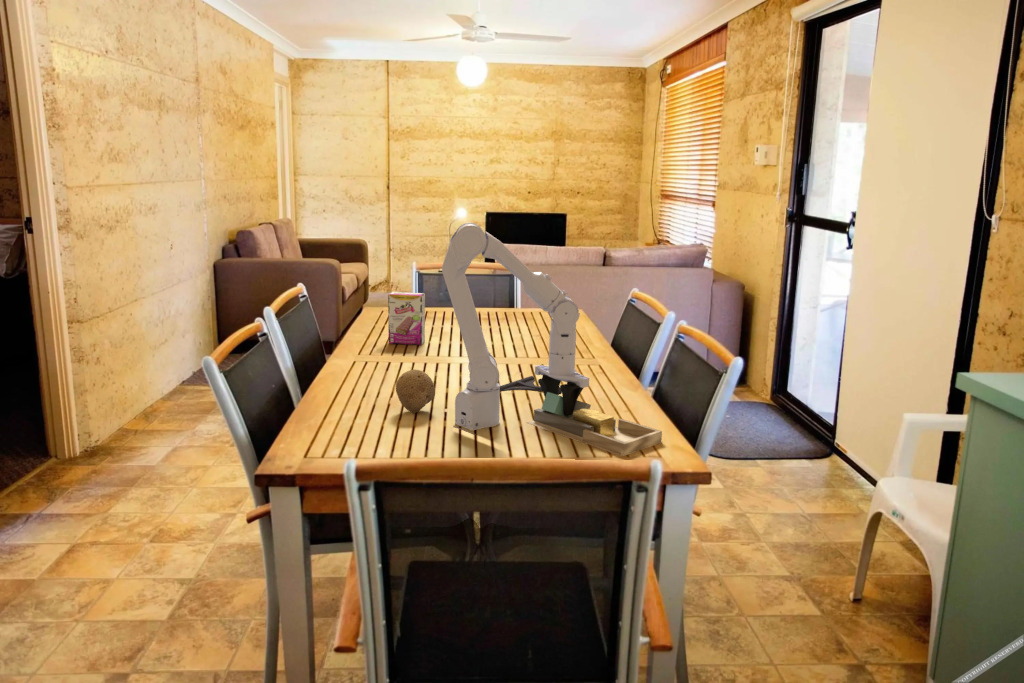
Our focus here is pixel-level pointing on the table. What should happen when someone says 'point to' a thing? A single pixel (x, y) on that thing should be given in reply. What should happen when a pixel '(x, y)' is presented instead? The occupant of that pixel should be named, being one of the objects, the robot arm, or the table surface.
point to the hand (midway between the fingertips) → (560, 412)
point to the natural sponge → (415, 390)
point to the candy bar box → (406, 318)
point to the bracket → (523, 385)
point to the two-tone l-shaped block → (560, 405)
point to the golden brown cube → (583, 414)
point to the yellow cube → (601, 423)
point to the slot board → (621, 442)
